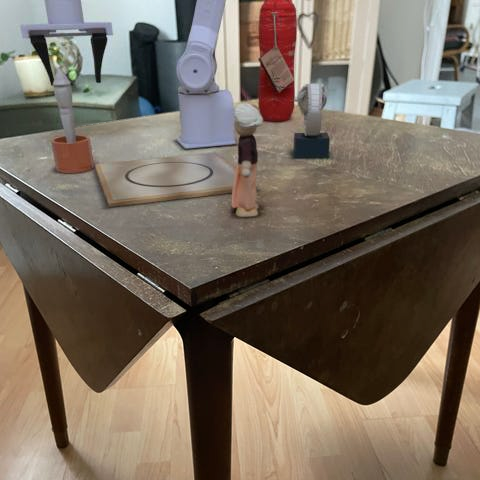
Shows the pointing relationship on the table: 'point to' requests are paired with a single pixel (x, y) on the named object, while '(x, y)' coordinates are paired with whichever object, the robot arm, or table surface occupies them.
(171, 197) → the sketch board
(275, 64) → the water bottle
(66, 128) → the pen
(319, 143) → the watch
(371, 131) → the table surface
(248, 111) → the grandmother figurine
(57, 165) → the pen pot
